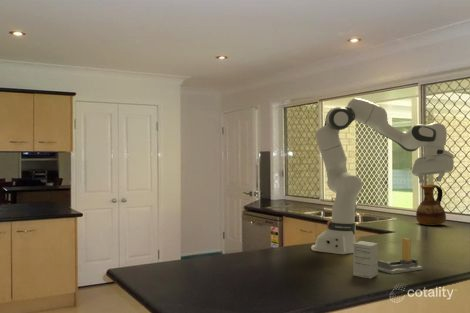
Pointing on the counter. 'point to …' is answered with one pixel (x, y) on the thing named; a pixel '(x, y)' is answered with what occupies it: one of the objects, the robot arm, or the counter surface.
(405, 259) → the orange upright block
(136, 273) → the counter surface
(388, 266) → the console
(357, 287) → the counter surface
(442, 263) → the counter surface
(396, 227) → the counter surface
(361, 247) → the supplement box
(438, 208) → the ceramic pitcher
